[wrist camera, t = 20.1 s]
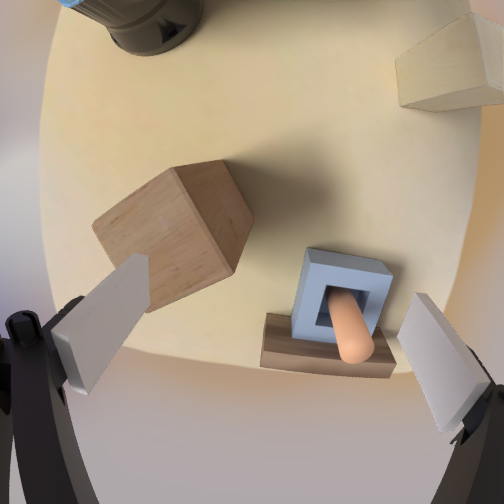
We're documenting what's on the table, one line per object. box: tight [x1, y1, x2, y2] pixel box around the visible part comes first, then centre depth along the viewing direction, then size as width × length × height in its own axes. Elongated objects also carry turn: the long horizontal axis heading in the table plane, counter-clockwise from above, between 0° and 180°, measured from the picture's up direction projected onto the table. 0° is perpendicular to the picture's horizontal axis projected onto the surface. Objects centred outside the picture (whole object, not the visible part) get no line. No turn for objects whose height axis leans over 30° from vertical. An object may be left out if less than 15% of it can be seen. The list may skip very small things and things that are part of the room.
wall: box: [260, 313, 397, 378], centre depth 43 cm, size 3×20×10 cm, turn 82°
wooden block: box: [92, 160, 254, 313], centre depth 33 cm, size 10×10×20 cm
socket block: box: [291, 248, 393, 344], centre depth 42 cm, size 12×12×6 cm
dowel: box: [325, 285, 374, 364], centre depth 36 cm, size 4×4×14 cm
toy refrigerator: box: [395, 12, 504, 112], centre depth 23 cm, size 8×7×21 cm
